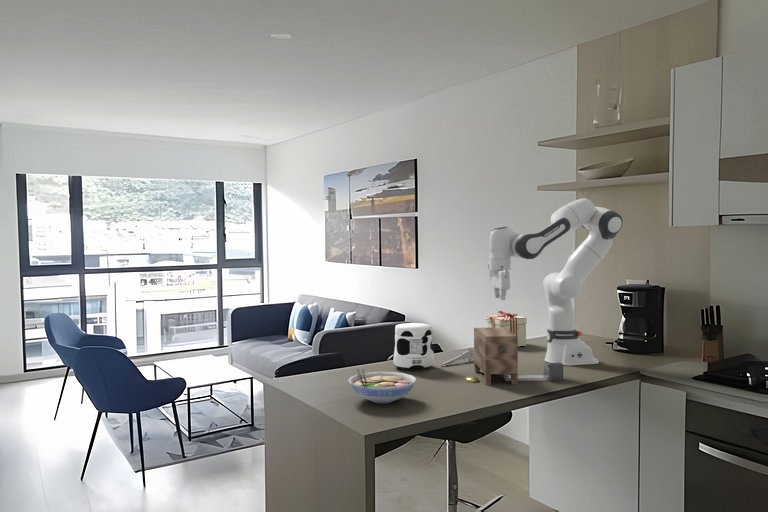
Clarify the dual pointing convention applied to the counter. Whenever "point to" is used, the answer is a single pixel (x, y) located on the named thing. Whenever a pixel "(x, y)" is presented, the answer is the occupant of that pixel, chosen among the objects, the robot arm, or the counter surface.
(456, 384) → the counter surface
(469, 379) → the token
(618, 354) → the counter surface
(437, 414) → the counter surface
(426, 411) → the counter surface
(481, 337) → the cabinet
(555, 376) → the scraper
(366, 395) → the ramen bowl
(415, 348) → the milk container
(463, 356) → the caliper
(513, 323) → the gift box
